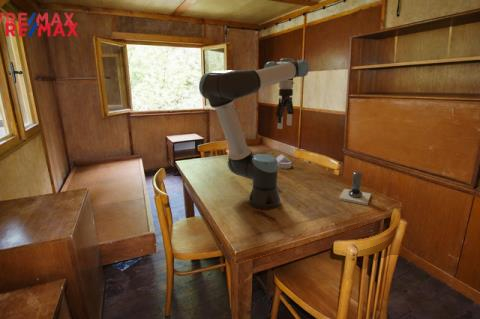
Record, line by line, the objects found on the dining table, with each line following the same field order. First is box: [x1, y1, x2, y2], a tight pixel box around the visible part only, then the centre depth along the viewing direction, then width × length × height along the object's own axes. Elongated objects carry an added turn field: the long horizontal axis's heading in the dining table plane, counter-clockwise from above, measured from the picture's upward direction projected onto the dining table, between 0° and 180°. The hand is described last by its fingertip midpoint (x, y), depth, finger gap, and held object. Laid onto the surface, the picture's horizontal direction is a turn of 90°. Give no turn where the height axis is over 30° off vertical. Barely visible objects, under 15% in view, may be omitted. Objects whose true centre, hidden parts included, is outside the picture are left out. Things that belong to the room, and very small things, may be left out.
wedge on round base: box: [275, 154, 292, 170], centre depth 188 cm, size 9×7×13 cm
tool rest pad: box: [338, 188, 372, 206], centre depth 136 cm, size 13×13×1 cm
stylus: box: [348, 171, 363, 198], centre depth 134 cm, size 6×6×12 cm
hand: (284, 127), depth 154 cm, fingers open, 13 cm apart
